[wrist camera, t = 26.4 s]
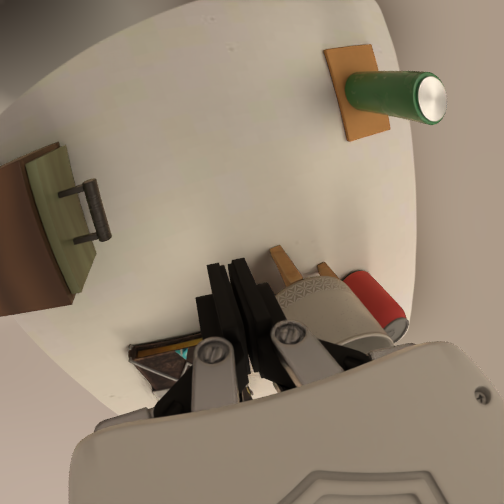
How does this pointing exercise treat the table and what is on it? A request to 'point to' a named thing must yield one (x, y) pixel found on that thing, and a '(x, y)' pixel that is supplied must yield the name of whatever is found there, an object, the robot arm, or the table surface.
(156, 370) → the book
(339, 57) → the mat
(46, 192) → the drawer
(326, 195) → the table surface
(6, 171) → the cabinet
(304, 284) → the planter
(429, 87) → the green can
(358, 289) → the beer can
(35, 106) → the table surface
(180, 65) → the table surface
